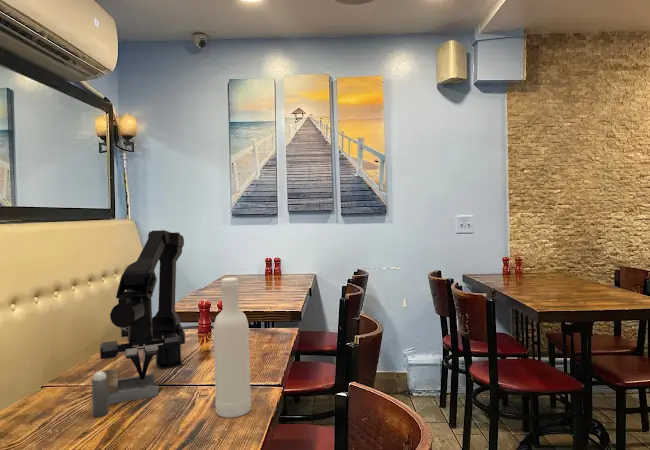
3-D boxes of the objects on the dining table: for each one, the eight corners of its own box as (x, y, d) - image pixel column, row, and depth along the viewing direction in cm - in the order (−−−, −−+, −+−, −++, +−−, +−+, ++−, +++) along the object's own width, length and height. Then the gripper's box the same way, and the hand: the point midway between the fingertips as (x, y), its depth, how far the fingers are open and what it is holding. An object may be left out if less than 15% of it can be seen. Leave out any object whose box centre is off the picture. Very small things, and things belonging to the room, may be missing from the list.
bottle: (257, 405, 108) (254, 276, 107) (240, 420, 101) (236, 281, 100) (227, 401, 111) (223, 275, 110) (208, 415, 103) (204, 280, 103)
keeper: (117, 388, 118) (116, 368, 118) (118, 394, 114) (117, 373, 114) (99, 391, 116) (98, 371, 116) (99, 397, 112) (99, 376, 112)
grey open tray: (153, 382, 125) (153, 362, 124) (158, 395, 116) (157, 373, 115) (95, 392, 118) (94, 371, 118) (95, 407, 109) (94, 383, 109)
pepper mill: (108, 410, 107) (107, 368, 107) (108, 415, 105) (107, 372, 104) (92, 413, 106) (91, 370, 106) (92, 418, 103) (91, 374, 103)
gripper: (173, 308, 130) (175, 363, 130) (99, 316, 121) (101, 375, 122) (180, 315, 120) (182, 376, 120) (99, 325, 111) (101, 390, 112)
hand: (142, 378), depth 119 cm, fingers closed
